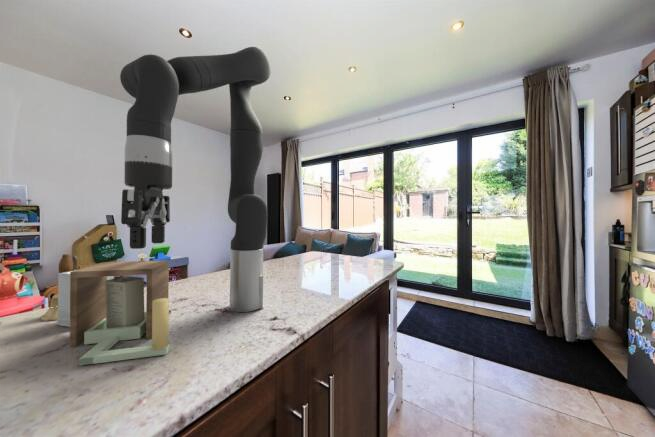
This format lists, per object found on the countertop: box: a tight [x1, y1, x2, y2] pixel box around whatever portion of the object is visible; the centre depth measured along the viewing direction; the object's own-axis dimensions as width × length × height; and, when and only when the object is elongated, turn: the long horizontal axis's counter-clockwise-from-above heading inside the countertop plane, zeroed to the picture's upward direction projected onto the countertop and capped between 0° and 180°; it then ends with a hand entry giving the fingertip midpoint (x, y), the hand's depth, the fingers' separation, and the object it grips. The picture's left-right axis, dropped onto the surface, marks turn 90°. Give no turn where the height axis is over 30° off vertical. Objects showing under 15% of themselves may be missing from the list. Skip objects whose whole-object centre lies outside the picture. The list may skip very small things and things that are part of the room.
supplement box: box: [57, 270, 115, 328], centre depth 59 cm, size 7×7×13 cm
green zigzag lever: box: [78, 297, 171, 366], centre depth 51 cm, size 17×18×10 cm
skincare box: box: [105, 275, 145, 329], centre depth 54 cm, size 6×4×12 cm
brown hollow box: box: [69, 259, 170, 348], centre depth 54 cm, size 14×10×15 cm
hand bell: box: [40, 253, 74, 322], centre depth 63 cm, size 8×8×16 cm
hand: (149, 245), depth 47 cm, fingers open, 8 cm apart
